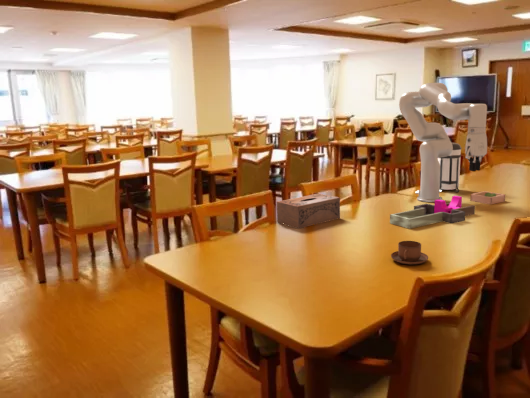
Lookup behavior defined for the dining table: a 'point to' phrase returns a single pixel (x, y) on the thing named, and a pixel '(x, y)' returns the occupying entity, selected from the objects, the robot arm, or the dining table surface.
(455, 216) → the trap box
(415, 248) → the cup and saucer
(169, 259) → the dining table surface
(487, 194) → the seedling
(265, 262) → the dining table surface
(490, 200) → the planter frame
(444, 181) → the lantern
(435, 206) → the toy block
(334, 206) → the tissue box cover
